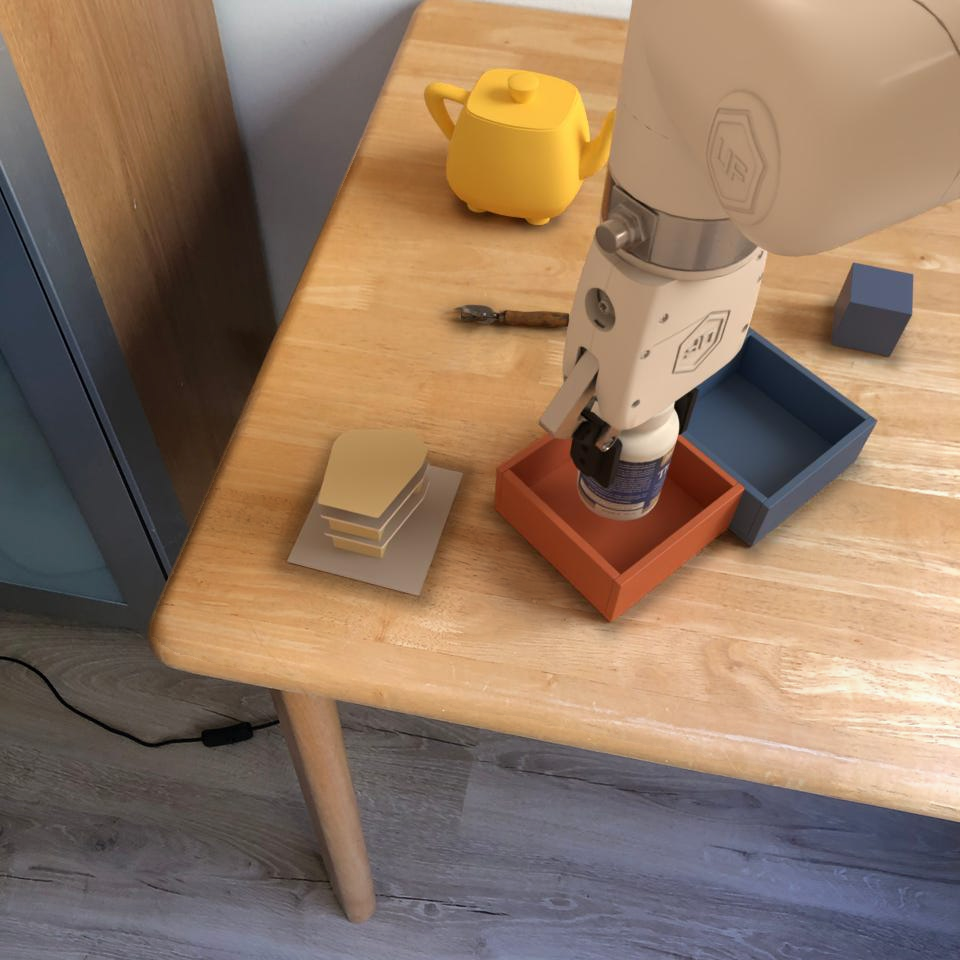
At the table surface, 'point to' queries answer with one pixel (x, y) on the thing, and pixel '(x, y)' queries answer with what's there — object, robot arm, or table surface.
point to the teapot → (518, 143)
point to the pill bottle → (634, 469)
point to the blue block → (872, 309)
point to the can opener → (515, 316)
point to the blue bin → (774, 433)
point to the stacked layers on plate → (378, 511)
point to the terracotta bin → (608, 543)
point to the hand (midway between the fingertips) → (628, 442)
